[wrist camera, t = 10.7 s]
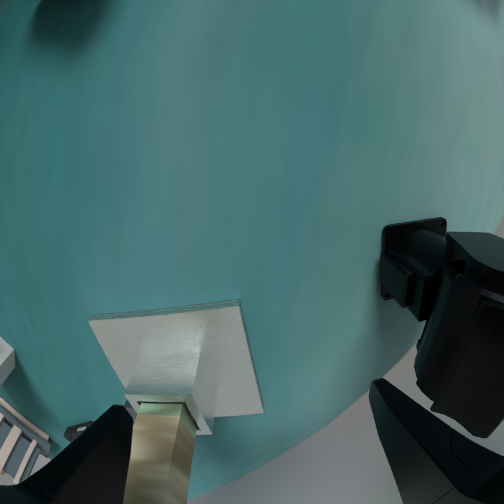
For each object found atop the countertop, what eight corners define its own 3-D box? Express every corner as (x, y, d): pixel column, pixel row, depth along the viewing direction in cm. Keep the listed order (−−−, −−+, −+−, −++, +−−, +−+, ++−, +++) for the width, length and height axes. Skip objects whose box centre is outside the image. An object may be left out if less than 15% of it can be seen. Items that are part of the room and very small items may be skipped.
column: (182, 404, 18) (161, 514, 9) (196, 428, 19) (183, 526, 10) (141, 403, 18) (110, 503, 9) (158, 427, 19) (137, 517, 10)
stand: (239, 299, 21) (236, 353, 15) (263, 406, 26) (266, 454, 20) (92, 314, 22) (60, 357, 16) (146, 409, 27) (133, 451, 21)
